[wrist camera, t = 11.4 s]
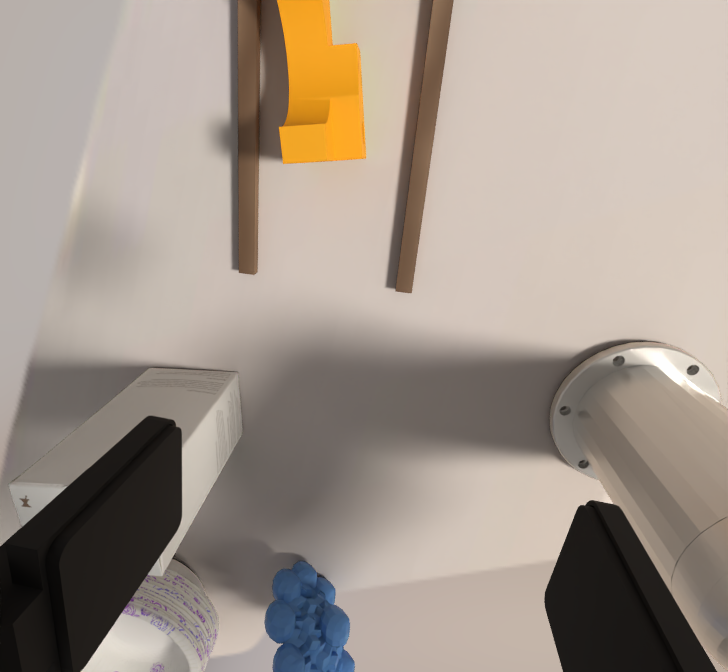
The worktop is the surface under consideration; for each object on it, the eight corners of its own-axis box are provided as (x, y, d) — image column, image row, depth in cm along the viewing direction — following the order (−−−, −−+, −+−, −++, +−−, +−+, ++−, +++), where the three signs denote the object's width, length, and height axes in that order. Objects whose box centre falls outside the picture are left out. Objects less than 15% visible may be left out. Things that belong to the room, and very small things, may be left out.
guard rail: (479, -113, 26) (490, -152, 23) (419, 291, 35) (420, 305, 32) (231, -134, 26) (207, -175, 23) (234, 269, 35) (217, 280, 32)
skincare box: (157, 426, 41) (26, 571, 27) (147, 361, 39) (-3, 481, 25) (247, 433, 41) (163, 584, 26) (243, 367, 38) (147, 493, 24)
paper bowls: (138, 644, 53) (95, 722, 46) (66, 548, 48) (5, 618, 41) (253, 622, 50) (228, 702, 43) (189, 517, 45) (148, 587, 38)
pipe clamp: (366, 158, 32) (357, 158, 26) (305, 162, 32) (283, 163, 26) (354, -54, 28) (340, -113, 22) (284, -46, 28) (251, -102, 22)
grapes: (389, 599, 47) (385, 736, 36) (338, 622, 49) (319, 759, 38) (320, 525, 44) (292, 649, 33) (268, 552, 46) (225, 678, 35)
